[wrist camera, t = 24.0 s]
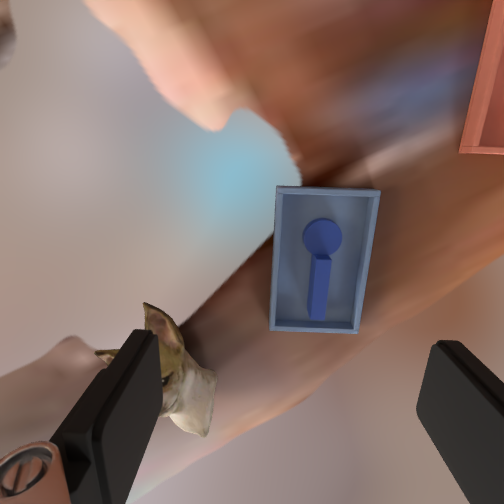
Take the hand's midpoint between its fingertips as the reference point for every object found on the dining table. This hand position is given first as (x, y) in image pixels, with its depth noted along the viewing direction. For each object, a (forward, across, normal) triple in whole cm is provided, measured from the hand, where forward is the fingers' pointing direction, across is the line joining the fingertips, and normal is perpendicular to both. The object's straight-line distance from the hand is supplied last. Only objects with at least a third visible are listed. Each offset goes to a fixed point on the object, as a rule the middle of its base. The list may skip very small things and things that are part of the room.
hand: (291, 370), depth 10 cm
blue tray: (+24, -6, +4) cm, 25 cm away
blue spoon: (+23, -6, +5) cm, 24 cm away
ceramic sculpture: (+24, +12, +18) cm, 32 cm away
